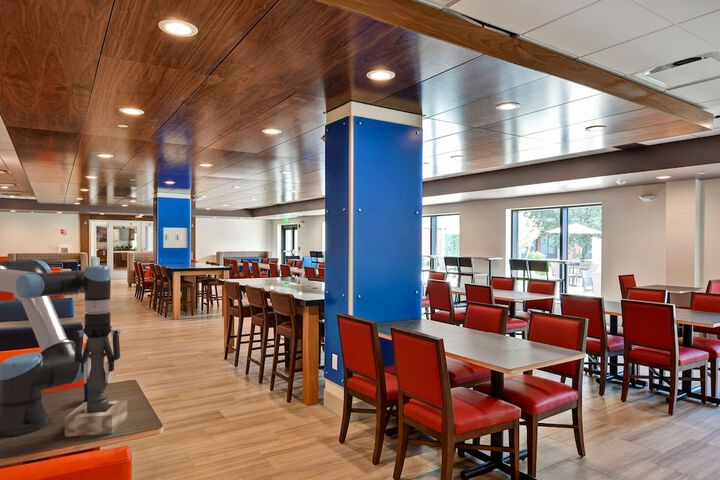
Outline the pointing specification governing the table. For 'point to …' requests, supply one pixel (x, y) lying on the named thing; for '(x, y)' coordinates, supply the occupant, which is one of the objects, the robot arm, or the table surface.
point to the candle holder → (97, 376)
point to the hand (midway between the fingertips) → (97, 381)
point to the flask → (86, 392)
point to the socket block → (95, 419)
